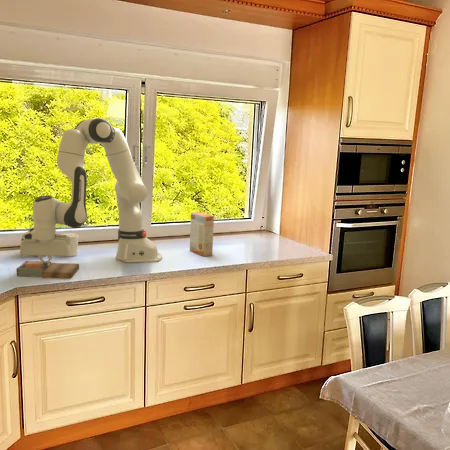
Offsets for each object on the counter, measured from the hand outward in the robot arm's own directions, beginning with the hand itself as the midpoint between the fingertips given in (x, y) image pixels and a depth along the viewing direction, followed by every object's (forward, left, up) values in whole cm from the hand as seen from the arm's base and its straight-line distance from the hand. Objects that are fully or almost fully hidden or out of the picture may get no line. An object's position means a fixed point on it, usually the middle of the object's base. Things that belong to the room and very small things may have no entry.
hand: (45, 265), depth 208 cm
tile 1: (+5, 0, -1) cm, 6 cm away
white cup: (-2, -31, -4) cm, 31 cm away
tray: (+5, 0, -3) cm, 6 cm away
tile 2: (+3, 0, -1) cm, 4 cm away
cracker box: (-67, -40, -4) cm, 78 cm away
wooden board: (-6, 0, -3) cm, 7 cm away
